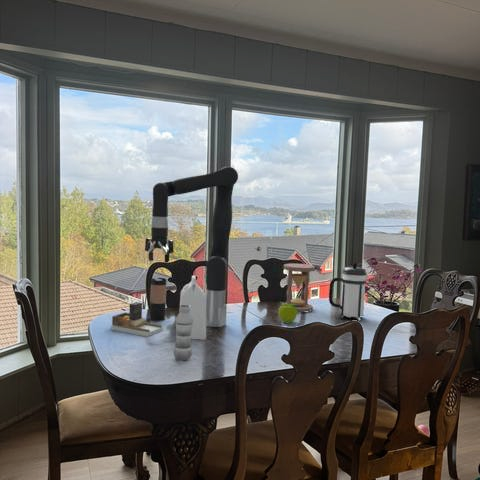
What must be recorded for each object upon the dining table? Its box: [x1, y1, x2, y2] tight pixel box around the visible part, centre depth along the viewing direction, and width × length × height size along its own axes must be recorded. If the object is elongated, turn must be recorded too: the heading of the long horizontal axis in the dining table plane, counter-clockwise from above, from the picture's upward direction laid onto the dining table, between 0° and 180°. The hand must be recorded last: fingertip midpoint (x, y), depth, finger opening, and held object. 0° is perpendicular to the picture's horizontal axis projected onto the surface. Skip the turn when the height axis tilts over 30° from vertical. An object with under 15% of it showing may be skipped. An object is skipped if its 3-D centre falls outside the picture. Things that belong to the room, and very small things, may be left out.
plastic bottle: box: [173, 305, 193, 361], centre depth 171 cm, size 6×7×20 cm
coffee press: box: [328, 262, 370, 318], centre depth 246 cm, size 17×16×30 cm
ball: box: [123, 316, 129, 324], centre depth 210 cm, size 4×4×4 cm
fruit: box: [278, 301, 298, 323], centre depth 232 cm, size 9×9×10 cm
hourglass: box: [281, 263, 316, 312], centre depth 262 cm, size 18×18×25 cm
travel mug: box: [149, 277, 167, 322], centre depth 227 cm, size 8×8×20 cm
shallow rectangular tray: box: [109, 321, 164, 337], centre depth 208 cm, size 20×12×2 cm, turn 65°
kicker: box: [126, 301, 146, 327], centre depth 208 cm, size 5×7×10 cm
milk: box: [178, 275, 207, 340], centre depth 202 cm, size 12×12×26 cm
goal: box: [111, 312, 129, 327], centre depth 211 cm, size 6×8×4 cm, turn 155°
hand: (158, 261), depth 214 cm, fingers open, 8 cm apart
